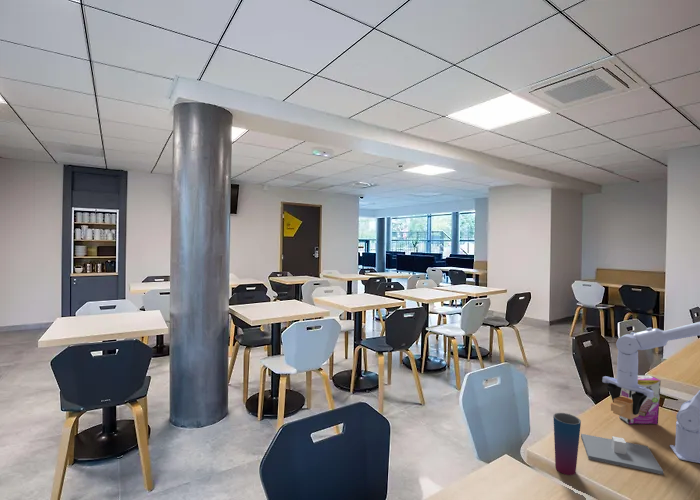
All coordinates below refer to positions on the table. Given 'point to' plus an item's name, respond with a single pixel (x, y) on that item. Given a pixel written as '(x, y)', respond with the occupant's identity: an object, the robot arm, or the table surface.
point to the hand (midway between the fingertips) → (626, 410)
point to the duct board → (620, 453)
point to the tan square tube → (623, 407)
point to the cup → (566, 442)
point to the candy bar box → (645, 401)
